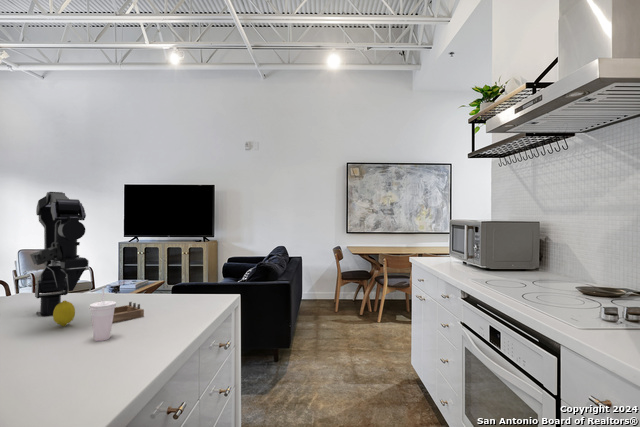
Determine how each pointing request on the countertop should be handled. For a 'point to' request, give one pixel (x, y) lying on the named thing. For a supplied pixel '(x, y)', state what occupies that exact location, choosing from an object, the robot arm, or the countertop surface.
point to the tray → (127, 312)
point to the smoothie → (102, 318)
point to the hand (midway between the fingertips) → (64, 289)
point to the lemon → (64, 313)
